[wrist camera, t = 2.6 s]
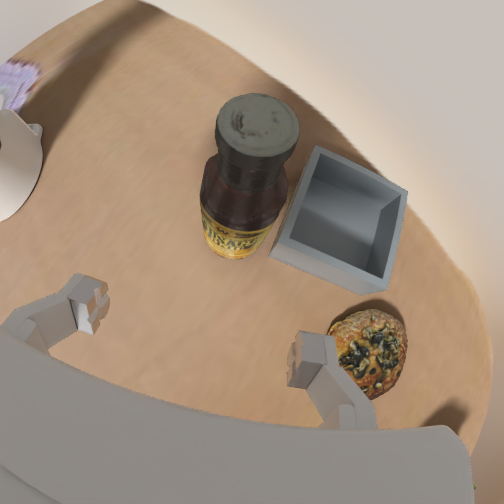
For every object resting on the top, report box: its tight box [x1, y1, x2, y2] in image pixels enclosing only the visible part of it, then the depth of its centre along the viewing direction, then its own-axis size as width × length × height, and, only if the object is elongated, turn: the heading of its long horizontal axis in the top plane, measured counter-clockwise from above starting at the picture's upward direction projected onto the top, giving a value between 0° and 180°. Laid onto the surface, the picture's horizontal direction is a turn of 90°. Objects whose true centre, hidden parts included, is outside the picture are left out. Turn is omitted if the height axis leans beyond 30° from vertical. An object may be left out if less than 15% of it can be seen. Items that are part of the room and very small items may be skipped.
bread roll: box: [327, 309, 408, 400], centre depth 29 cm, size 11×11×5 cm
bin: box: [268, 145, 408, 295], centre depth 30 cm, size 12×12×6 cm
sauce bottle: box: [200, 93, 300, 259], centre depth 22 cm, size 7×6×20 cm
